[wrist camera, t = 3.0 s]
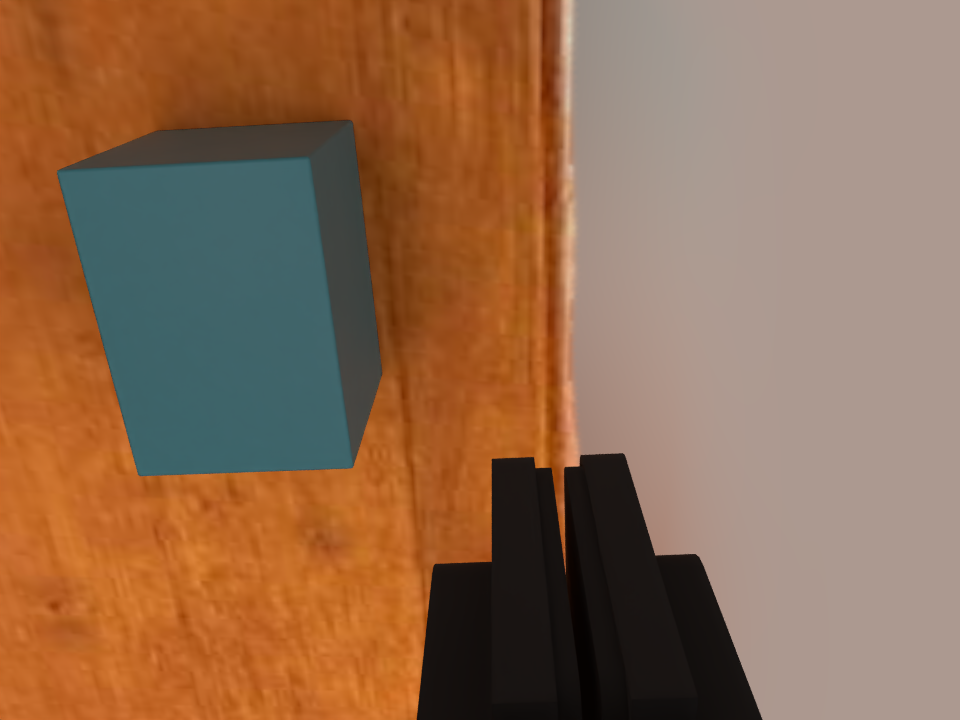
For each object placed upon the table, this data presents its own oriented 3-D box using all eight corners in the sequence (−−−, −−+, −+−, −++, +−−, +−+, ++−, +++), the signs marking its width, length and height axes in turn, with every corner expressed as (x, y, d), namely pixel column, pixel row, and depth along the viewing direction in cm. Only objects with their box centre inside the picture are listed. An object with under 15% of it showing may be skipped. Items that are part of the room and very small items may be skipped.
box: (353, 119, 20) (309, 156, 15) (382, 375, 23) (353, 469, 18) (154, 130, 20) (54, 170, 16) (208, 382, 23) (137, 477, 19)
